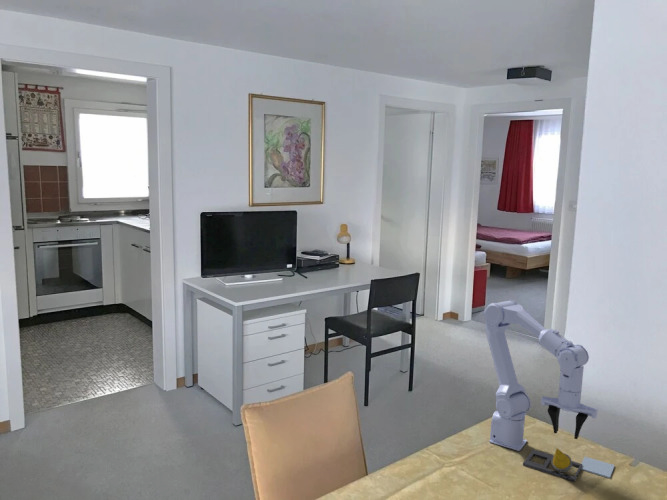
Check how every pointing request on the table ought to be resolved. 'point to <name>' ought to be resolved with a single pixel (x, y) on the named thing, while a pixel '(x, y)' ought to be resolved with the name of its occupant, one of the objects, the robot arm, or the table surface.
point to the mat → (597, 467)
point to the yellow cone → (561, 461)
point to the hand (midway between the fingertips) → (566, 434)
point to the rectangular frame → (546, 464)
